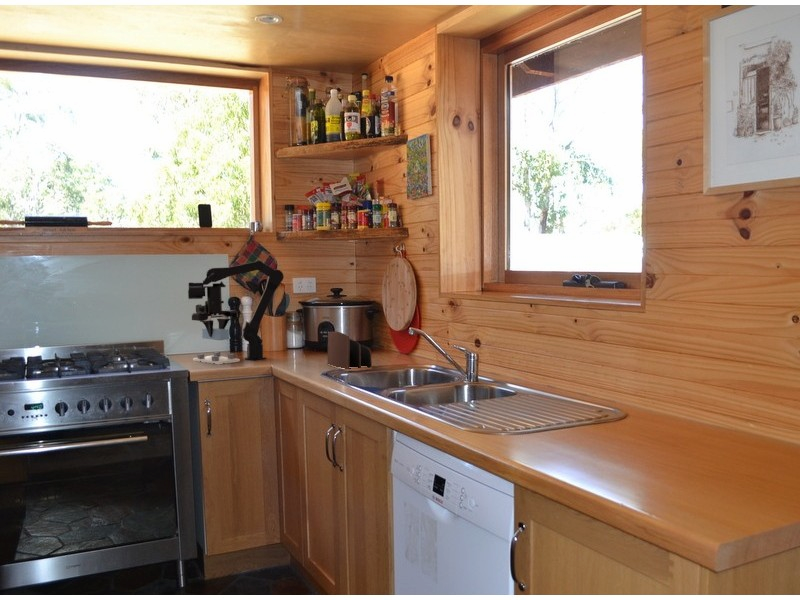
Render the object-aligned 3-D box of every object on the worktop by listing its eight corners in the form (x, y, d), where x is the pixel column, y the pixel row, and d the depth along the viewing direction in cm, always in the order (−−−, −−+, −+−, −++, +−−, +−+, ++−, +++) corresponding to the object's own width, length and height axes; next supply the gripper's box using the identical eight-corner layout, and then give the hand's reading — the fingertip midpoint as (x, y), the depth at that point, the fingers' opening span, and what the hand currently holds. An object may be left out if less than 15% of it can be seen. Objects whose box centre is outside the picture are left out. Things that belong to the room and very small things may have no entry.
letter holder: (347, 372, 264) (347, 334, 263) (327, 365, 281) (326, 329, 280) (372, 370, 268) (371, 332, 268) (350, 363, 286) (349, 328, 285)
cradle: (239, 361, 294) (239, 354, 294) (219, 364, 287) (218, 357, 286) (213, 357, 306) (213, 351, 306) (193, 360, 298) (193, 353, 298)
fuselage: (228, 339, 293) (228, 329, 293) (219, 340, 290) (219, 330, 290) (208, 336, 303) (208, 327, 302) (199, 338, 299) (199, 328, 299)
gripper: (221, 296, 307) (222, 332, 308) (183, 299, 293) (184, 337, 294) (237, 297, 300) (238, 334, 301) (199, 300, 285) (200, 339, 286)
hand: (215, 336), depth 296 cm, fingers closed on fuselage, 4 cm apart
